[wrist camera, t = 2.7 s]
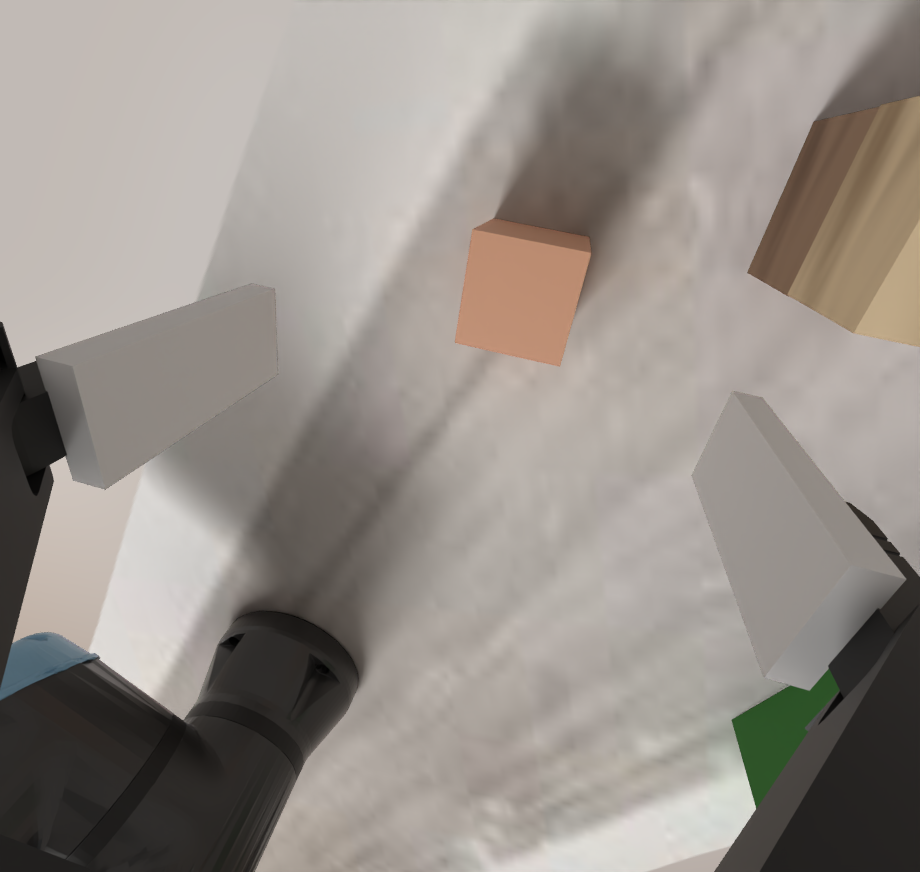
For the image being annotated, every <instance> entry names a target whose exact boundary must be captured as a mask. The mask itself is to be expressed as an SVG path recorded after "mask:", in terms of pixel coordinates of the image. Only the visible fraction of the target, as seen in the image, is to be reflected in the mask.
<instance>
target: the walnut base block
mask: <svg viewBox="0 0 920 872" xmlns="http://www.w3.org/2000/svg"><path fill="white" fill-rule="evenodd" d="M879 108H880V107H876V108H871V109H867V110H863V111H858V112H854V113H849V114H845V115H841V116H836V117H832V118H827V119H823V120H819V121H814V122H813V125H812V127H811V129H810V132H809V134H808V136H807V138H806V141H805V143H804V145H803V147H802V150H801V152H800V154H799V156H798V159H797V161H796V163H795V166H794V168H793V170H792V172H791V175H790V177H789V179H788V181H787V184H786V186H785V188H784V191H783V193H782V195H781V197H780V200H779V202H778V204H777V206H776V209H775V211H774V213H773V215H772V218H771V220H770V222H769V225H768V227H767V229H766V231H765V234H764V236H763V238H762V240H761V243H760V245H759V247H758V250H757V252H756V254H755V256H754V259H753V261H752V263H751V265H750V268H749V270H748V272H747V273H749V274H751V275H752V276H754V277H756V278H758V279H759V280H761V281H763V282H764V283H766V284H768V285H770V286H771V287H773V288H775V289H776V290H778V291H780V292H782V293H783V294H785V295H787V294H788V292H789V290H790V288H791V286H792V284H793V282H794V280H795V278H796V276H797V274H798V272H799V270H800V268H801V266H802V264H803V262H804V260H805V258H806V256H807V254H808V252H809V250H810V248H811V246H812V244H813V242H814V240H815V237H816V235H817V233H818V231H819V229H820V227H821V225H822V223H823V221H824V219H825V217H826V215H827V213H828V211H829V209H830V207H831V205H832V203H833V201H834V199H835V197H836V195H837V193H838V191H839V189H840V187H841V185H842V183H843V181H844V179H845V177H846V175H847V173H848V170H849V168H850V166H851V164H852V162H853V160H854V158H855V156H856V154H857V152H858V150H859V148H860V146H861V144H862V142H863V140H864V138H865V136H866V134H867V132H868V130H869V128H870V126H871V124H872V122H873V120H874V118H875V116H876V114H877V112H878V110H879ZM787 296H788V295H787Z"/></svg>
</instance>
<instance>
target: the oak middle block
mask: <svg viewBox="0 0 920 872" xmlns="http://www.w3.org/2000/svg"><path fill="white" fill-rule="evenodd" d="M787 295H788V296H790V297H792V298H794V299H795V300H797V301H799V302H800V303H802V304H804V305H806V306H807V307H809V308H811V309H812V310H814V311H816V312H818V313H819V314H821V315H823V316H825V317H826V318H828V319H830V320H831V321H833V322H835V323H837V324H838V325H840V326H842V327H844V328H845V329H847V330H849V331H850V332H852V333H855V334H860V335H864V336H869V337H874V338H879V339H884V340H889V341H893V342H898V343H903V344H908V345H913V346H918V347H920V96H917V97H912V98H908V99H904V100H899V101H895V102H891V103H886V104H882V105H880V108H879V110H878V112H877V114H876V116H875V118H874V120H873V122H872V124H871V126H870V128H869V130H868V132H867V134H866V136H865V138H864V140H863V142H862V144H861V146H860V148H859V150H858V152H857V154H856V156H855V158H854V160H853V162H852V164H851V166H850V168H849V170H848V173H847V175H846V177H845V179H844V181H843V183H842V185H841V187H840V189H839V191H838V193H837V195H836V197H835V199H834V201H833V203H832V205H831V207H830V209H829V211H828V213H827V215H826V217H825V219H824V221H823V223H822V225H821V227H820V229H819V231H818V233H817V235H816V237H815V240H814V242H813V244H812V246H811V248H810V250H809V252H808V254H807V256H806V258H805V260H804V262H803V264H802V266H801V268H800V270H799V272H798V274H797V276H796V278H795V280H794V282H793V284H792V286H791V288H790V290H789V292H788V294H787Z"/></svg>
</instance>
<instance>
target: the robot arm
mask: <svg viewBox="0 0 920 872" xmlns="http://www.w3.org/2000/svg"><path fill="white" fill-rule="evenodd" d="M277 375H278V357H277V331H276V304H275V289H273V288H269V287H264V286H260V285H255V284H248V285H245V286H242V287H239V288H236V289H234V290H231V291H228V292H225V293H222V294H219V295H216V296H213V297H210V298H207V299H204V300H201V301H198V302H195V303H192V304H189V305H186V306H184V307H180V308H177V309H175V310H172V311H169V312H166V313H163V314H160V315H157V316H154V317H151V318H148V319H145V320H142V321H139V322H136V323H133V324H130V325H127V326H124V327H122V328H118V329H115V330H113V331H110V332H107V333H104V334H101V335H98V336H95V337H92V338H89V339H86V340H83V341H80V342H77V343H74V344H71V345H69V346H65V347H62V348H60V349H56V350H54V351H51V352H48V353H45V354H42V355H39V356H36V361H35V362H32V363H29V364H26V365H23V366H21V367H18V368H17V365H16V362H15V359H14V356H13V353H12V350H11V348H10V344H9V341H8V338H7V335H6V332H5V329H4V326H3V323H2V322H0V872H255V870H256V868H257V866H258V863H259V861H260V859H261V857H262V855H263V852H264V850H265V848H266V846H267V844H268V842H269V839H270V837H271V835H272V833H273V831H274V828H275V826H276V824H277V822H278V820H279V817H280V815H281V813H282V811H283V809H284V807H285V804H286V802H287V800H288V798H289V796H290V793H291V791H292V789H293V787H294V785H295V782H296V780H297V778H298V776H299V774H300V772H301V770H302V767H303V765H304V763H305V761H306V760H307V758H308V757H309V756H310V755H311V753H312V752H313V751H314V750H315V749H316V748H317V746H318V745H319V744H320V743H321V742H322V741H323V739H324V738H325V737H326V736H327V735H328V734H329V732H330V731H331V730H332V729H333V728H334V727H335V725H336V724H337V723H338V722H339V721H340V720H341V718H342V717H343V716H344V715H345V713H346V712H347V710H348V708H349V706H350V704H351V702H352V699H353V697H354V695H355V693H356V690H357V687H358V675H357V671H356V668H355V665H354V663H353V661H352V660H351V658H350V657H349V655H348V654H347V652H346V651H345V650H344V649H343V648H342V647H341V646H340V645H339V644H338V643H337V642H336V641H335V640H334V639H333V638H332V637H330V636H329V635H328V634H327V633H325V632H324V631H322V630H321V629H319V628H317V627H316V626H314V625H312V624H310V623H308V622H306V621H304V620H301V619H299V618H296V617H293V616H290V615H286V614H282V613H276V612H254V613H250V614H246V615H244V616H242V617H240V618H238V619H237V620H236V621H235V622H234V623H233V624H232V625H231V627H230V628H229V629H228V631H227V632H226V633H225V635H224V636H223V637H222V638H221V640H220V642H219V644H218V645H217V648H216V651H215V653H214V656H213V659H212V662H211V664H210V667H209V670H208V673H207V675H206V678H205V681H204V684H203V686H202V689H201V692H200V695H199V697H198V700H197V702H196V703H195V705H194V706H193V708H192V709H191V710H190V712H189V713H188V715H187V716H186V717H185V719H184V720H181V719H180V718H179V717H177V716H176V715H174V714H173V713H172V712H171V711H169V710H168V709H167V708H165V707H164V706H162V705H161V704H160V703H158V702H157V701H155V700H154V699H153V698H151V697H150V696H148V695H147V694H146V693H144V692H143V691H142V690H140V689H139V688H137V687H136V686H135V685H133V684H132V683H130V682H129V681H128V680H126V679H125V678H123V677H122V676H121V675H119V674H118V673H117V672H115V671H114V670H112V669H111V668H110V667H108V666H107V665H106V664H104V663H103V662H102V661H100V660H99V659H100V657H99V656H98V655H97V654H95V653H91V654H90V653H89V652H87V651H86V650H84V649H82V648H81V647H79V646H77V645H76V644H74V643H73V642H71V641H69V640H68V639H66V638H65V637H63V636H61V635H59V634H56V633H51V632H44V633H36V634H33V635H29V636H27V637H25V638H22V639H20V640H18V641H16V642H14V643H12V641H13V637H14V634H15V629H16V626H17V622H18V618H19V614H20V610H21V606H22V603H23V598H24V595H25V591H26V587H27V583H28V579H29V575H30V571H31V567H32V564H33V559H34V556H35V552H36V548H37V544H38V540H39V536H40V533H41V528H42V525H43V521H44V517H45V513H46V509H47V505H48V502H49V498H50V494H51V490H52V486H53V482H54V480H53V475H52V472H51V469H50V464H52V463H54V462H56V461H57V460H59V459H61V458H63V457H64V456H66V459H67V462H68V465H69V468H70V472H71V475H72V479H73V481H77V482H81V483H84V484H87V485H91V486H94V487H98V488H101V489H105V490H106V489H107V488H109V487H110V486H112V485H113V484H115V483H116V482H117V481H119V480H121V479H122V478H124V477H125V476H127V475H128V474H130V473H131V472H133V471H134V470H135V469H137V468H139V467H140V466H141V465H143V464H145V463H146V462H148V461H149V460H151V459H152V458H154V457H155V456H157V455H158V454H160V453H161V452H163V451H164V450H166V449H167V448H169V447H170V446H172V445H173V444H175V443H176V442H178V441H179V440H181V439H182V438H184V437H185V436H187V435H188V434H190V433H191V432H193V431H194V430H196V429H197V428H199V427H200V426H202V425H203V424H205V423H206V422H208V421H209V420H211V419H212V418H214V417H215V416H217V415H218V414H220V413H221V412H223V411H224V410H226V409H227V408H229V407H230V406H232V405H233V404H235V403H236V402H238V401H239V400H241V399H242V398H244V397H245V396H247V395H248V394H250V393H251V392H253V391H254V390H256V389H257V388H259V387H260V386H262V385H263V384H265V383H266V382H268V381H269V380H271V379H272V378H274V377H275V376H277ZM692 478H693V481H694V484H695V486H696V489H697V492H698V495H699V498H700V500H701V503H702V506H703V509H704V512H705V514H706V517H707V520H708V523H709V526H710V528H711V531H712V534H713V537H714V540H715V542H716V545H717V548H718V551H719V554H720V556H721V559H722V562H723V565H724V568H725V570H726V573H727V576H728V579H729V582H730V584H731V587H732V590H733V593H734V596H735V598H736V601H737V604H738V607H739V610H740V612H741V615H742V618H743V621H744V623H745V626H746V629H747V632H748V635H749V637H750V640H751V643H752V646H753V649H754V651H755V654H756V657H757V660H758V663H759V665H760V668H761V671H762V674H763V677H764V678H767V679H770V680H774V681H777V682H781V683H784V684H788V685H791V686H795V687H798V688H802V689H805V690H809V691H810V690H811V688H812V687H813V686H814V685H815V684H816V683H817V681H818V680H819V679H820V678H821V677H822V676H823V675H824V673H825V672H826V671H827V670H828V669H829V670H830V672H831V674H832V676H833V678H834V680H835V682H836V684H837V686H838V688H839V691H838V692H837V693H836V694H835V696H834V697H833V698H832V699H831V700H830V701H829V702H828V703H827V704H826V705H825V706H824V707H823V709H822V710H821V711H820V712H819V713H818V714H817V715H816V716H815V717H814V718H813V719H812V720H811V722H810V723H809V724H808V725H807V726H806V727H805V729H806V730H807V731H808V733H807V734H806V736H805V737H804V739H803V740H802V742H801V743H800V745H799V746H798V748H797V749H796V751H795V752H794V754H793V755H792V757H791V758H790V760H789V761H788V763H787V764H786V766H785V767H784V769H783V770H782V772H781V773H780V775H779V776H778V778H777V779H776V781H775V782H774V784H773V785H772V787H771V788H770V790H769V791H768V793H767V794H766V796H765V797H764V798H763V800H762V801H761V803H760V804H759V806H758V807H757V809H756V810H755V812H754V813H753V815H752V816H751V818H750V819H749V821H748V822H747V824H746V825H745V827H744V828H743V830H742V831H741V833H740V834H739V836H738V837H737V839H736V840H735V842H734V843H733V845H732V846H731V848H730V849H729V851H728V852H727V854H726V855H725V857H724V858H723V860H722V861H721V863H720V864H719V866H718V867H717V868H716V870H715V871H714V872H920V577H919V576H918V574H917V573H916V572H915V571H914V570H913V568H912V567H911V566H910V565H909V564H908V562H907V561H906V560H905V559H904V558H903V557H900V556H899V555H900V553H899V552H898V550H897V549H896V548H895V547H894V546H893V544H892V543H891V542H888V541H887V539H888V538H887V537H886V536H885V535H884V533H883V532H882V531H881V530H880V529H879V527H878V526H877V525H876V524H875V523H874V521H873V520H871V519H870V518H869V517H867V516H866V515H865V514H864V513H862V512H861V511H860V510H858V509H857V508H856V507H854V506H853V505H852V504H851V503H848V502H845V501H844V500H843V499H842V497H841V496H840V495H839V493H838V492H837V491H836V490H835V488H834V487H833V486H832V485H831V483H830V482H829V481H828V480H827V478H826V477H825V476H824V475H823V473H822V472H821V471H820V470H819V468H818V467H817V466H816V465H815V463H814V462H813V461H812V459H811V458H810V457H809V456H808V454H807V453H806V452H805V451H804V449H803V448H802V447H801V446H800V444H799V443H798V442H797V441H796V439H795V438H794V437H793V436H792V434H791V433H790V432H789V430H788V429H787V428H786V427H785V425H784V424H783V423H782V422H781V420H780V419H779V418H778V417H777V415H776V414H775V413H774V412H773V410H772V409H771V408H770V407H769V405H768V404H767V403H766V401H765V400H764V399H763V398H762V397H758V396H753V395H749V394H744V393H740V392H735V391H732V393H731V395H730V397H729V399H728V401H727V403H726V405H725V407H724V409H723V411H722V413H721V415H720V417H719V420H718V422H717V424H716V426H715V428H714V430H713V432H712V434H711V436H710V438H709V440H708V442H707V444H706V446H705V449H704V451H703V453H702V455H701V457H700V459H699V461H698V463H697V465H696V467H695V469H694V471H693V473H692Z"/></svg>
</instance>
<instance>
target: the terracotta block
mask: <svg viewBox="0 0 920 872" xmlns="http://www.w3.org/2000/svg"><path fill="white" fill-rule="evenodd" d="M590 256H591V246H590V239H589V237H587V236H582V235H577V234H571V233H566V232H561V231H556V230H551V229H546V228H541V227H536V226H530V225H525V224H520V223H515V222H510V221H505V220H500V219H492V220H490V221H488V222H486V223H484V224H482V225H480V226H478V227H476V228H474V229H473V230H472V236H471V242H470V249H469V255H468V261H467V268H466V274H465V281H464V287H463V293H462V300H461V306H460V312H459V319H458V325H457V331H456V338H455V343H458V344H462V345H467V346H471V347H475V348H480V349H484V350H489V351H493V352H498V353H502V354H506V355H511V356H515V357H520V358H524V359H529V360H533V361H537V362H542V363H546V364H551V365H555V366H560V364H561V361H562V357H563V354H564V350H565V346H566V343H567V339H568V336H569V332H570V328H571V325H572V321H573V318H574V314H575V310H576V307H577V303H578V300H579V296H580V292H581V289H582V285H583V282H584V278H585V274H586V271H587V267H588V264H589V260H590Z"/></svg>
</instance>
